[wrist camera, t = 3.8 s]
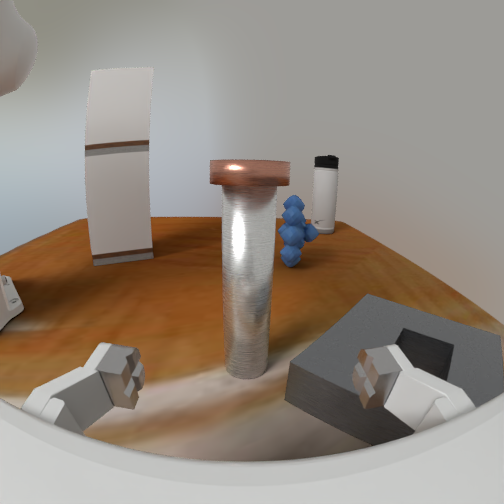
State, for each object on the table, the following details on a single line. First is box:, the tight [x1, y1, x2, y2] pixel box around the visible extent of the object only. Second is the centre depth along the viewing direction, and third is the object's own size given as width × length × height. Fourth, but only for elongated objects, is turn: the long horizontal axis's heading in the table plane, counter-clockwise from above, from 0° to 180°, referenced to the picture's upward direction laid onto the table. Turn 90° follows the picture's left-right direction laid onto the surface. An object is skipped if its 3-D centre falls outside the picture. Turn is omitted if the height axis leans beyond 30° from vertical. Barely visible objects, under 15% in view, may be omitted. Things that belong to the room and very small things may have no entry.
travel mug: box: [311, 155, 339, 234], centre depth 68 cm, size 6×7×20 cm
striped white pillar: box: [85, 67, 154, 266], centre depth 44 cm, size 11×11×35 cm
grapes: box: [278, 195, 319, 267], centre depth 44 cm, size 12×7×12 cm, turn 170°
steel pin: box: [210, 160, 290, 379], centre depth 20 cm, size 5×5×16 cm
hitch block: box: [284, 294, 504, 446], centre depth 17 cm, size 16×14×4 cm
